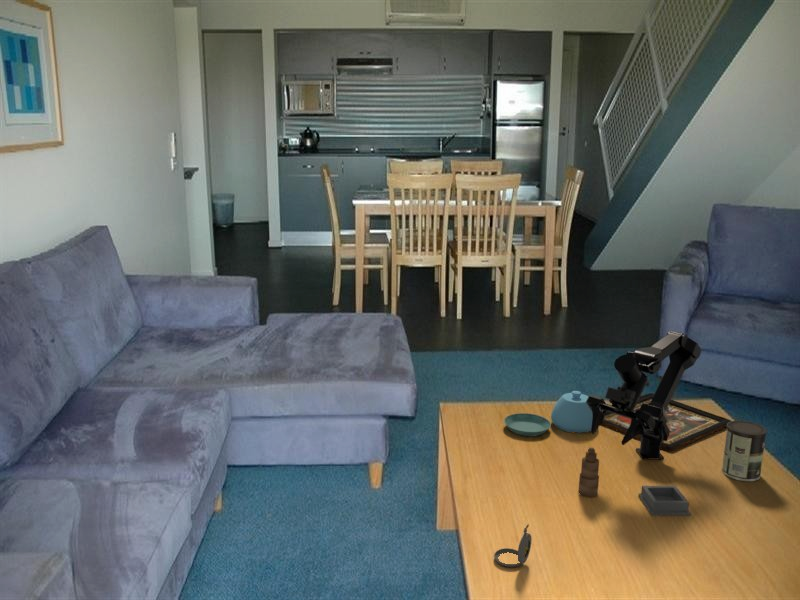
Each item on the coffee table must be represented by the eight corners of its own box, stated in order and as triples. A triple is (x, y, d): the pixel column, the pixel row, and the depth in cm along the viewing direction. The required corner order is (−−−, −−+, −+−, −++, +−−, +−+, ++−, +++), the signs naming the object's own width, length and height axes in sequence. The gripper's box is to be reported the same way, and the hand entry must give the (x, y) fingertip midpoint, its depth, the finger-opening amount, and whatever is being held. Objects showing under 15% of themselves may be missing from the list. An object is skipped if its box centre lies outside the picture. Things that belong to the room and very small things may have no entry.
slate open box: (638, 496, 206) (639, 484, 205) (675, 495, 206) (676, 484, 205) (651, 515, 196) (652, 503, 195) (690, 515, 196) (691, 503, 196)
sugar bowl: (549, 415, 259) (551, 382, 256) (595, 418, 257) (597, 385, 254) (551, 433, 245) (554, 399, 242) (600, 436, 243) (603, 402, 240)
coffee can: (755, 467, 224) (762, 421, 220) (764, 483, 214) (771, 436, 210) (717, 463, 226) (723, 418, 222) (725, 479, 216) (731, 432, 212)
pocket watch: (491, 552, 178) (493, 513, 176) (527, 551, 179) (529, 512, 177) (498, 573, 171) (501, 532, 168) (536, 572, 171) (539, 531, 169)
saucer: (495, 431, 246) (496, 423, 245) (516, 417, 257) (516, 409, 257) (538, 443, 237) (538, 435, 237) (557, 428, 249) (558, 420, 249)
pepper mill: (576, 488, 209) (579, 443, 206) (594, 488, 210) (598, 443, 206) (581, 497, 204) (584, 451, 201) (599, 497, 205) (603, 451, 201)
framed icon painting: (639, 394, 280) (639, 387, 279) (736, 424, 256) (737, 416, 255) (581, 424, 254) (581, 416, 253) (682, 460, 230) (683, 451, 229)
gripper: (592, 367, 215) (567, 414, 210) (654, 385, 202) (629, 435, 197) (604, 387, 222) (580, 433, 217) (665, 405, 209) (641, 455, 205)
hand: (606, 438), depth 209 cm, fingers open, 9 cm apart
